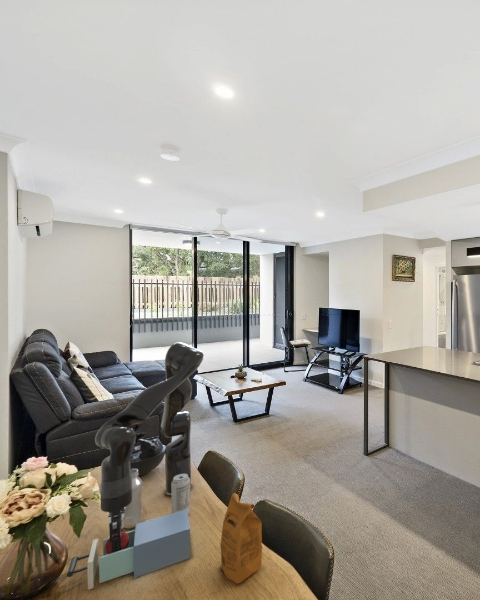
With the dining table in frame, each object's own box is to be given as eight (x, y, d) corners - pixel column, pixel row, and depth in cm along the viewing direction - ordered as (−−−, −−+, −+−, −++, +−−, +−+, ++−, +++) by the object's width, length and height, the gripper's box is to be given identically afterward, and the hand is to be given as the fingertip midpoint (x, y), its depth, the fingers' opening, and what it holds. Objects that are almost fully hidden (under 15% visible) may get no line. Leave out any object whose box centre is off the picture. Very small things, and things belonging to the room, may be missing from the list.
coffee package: (246, 550, 120) (246, 484, 119) (266, 569, 111) (265, 498, 111) (215, 567, 112) (215, 497, 111) (234, 589, 104) (233, 514, 103)
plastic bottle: (132, 532, 128) (131, 476, 128) (116, 529, 130) (115, 474, 129) (148, 521, 135) (147, 468, 134) (133, 518, 136) (132, 466, 135)
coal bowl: (128, 465, 177) (128, 427, 177) (173, 462, 181) (173, 424, 180) (103, 487, 158) (102, 444, 157) (154, 483, 161) (153, 441, 161)
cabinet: (134, 578, 108) (133, 546, 108) (136, 552, 118) (135, 523, 118) (190, 558, 116) (190, 528, 116) (187, 535, 126) (187, 508, 126)
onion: (133, 551, 113) (133, 526, 112) (114, 564, 107) (113, 538, 107) (121, 546, 114) (120, 522, 114) (100, 559, 109) (100, 533, 109)
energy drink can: (186, 508, 142) (186, 471, 142) (192, 514, 138) (192, 476, 138) (169, 516, 138) (168, 477, 137) (175, 522, 134) (174, 482, 133)
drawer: (65, 597, 100) (64, 570, 100) (73, 571, 109) (72, 545, 109) (145, 569, 110) (145, 544, 110) (146, 547, 119) (146, 524, 119)
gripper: (103, 483, 114) (104, 535, 115) (97, 506, 102) (98, 564, 103) (133, 476, 118) (133, 526, 119) (130, 497, 106) (131, 553, 107)
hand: (117, 543), depth 111 cm, fingers closed on onion, 6 cm apart
